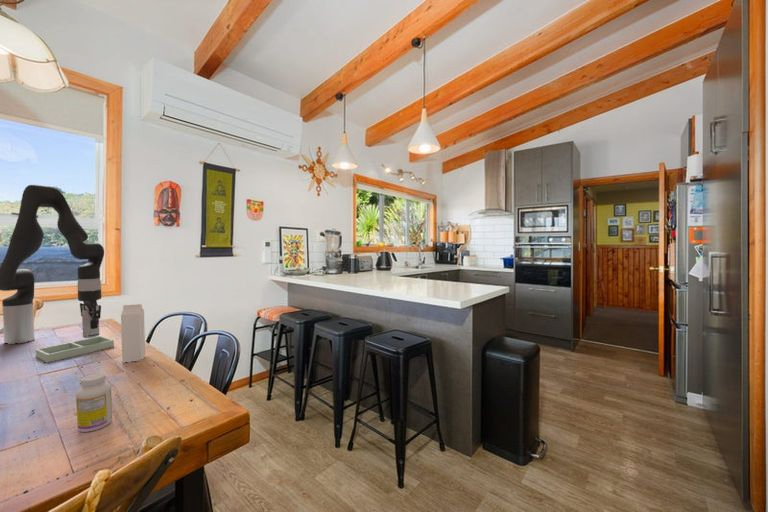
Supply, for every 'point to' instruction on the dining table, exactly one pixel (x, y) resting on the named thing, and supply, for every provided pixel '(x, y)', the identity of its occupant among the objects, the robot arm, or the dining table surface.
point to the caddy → (73, 348)
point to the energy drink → (88, 326)
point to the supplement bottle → (93, 403)
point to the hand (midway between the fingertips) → (91, 327)
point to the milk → (132, 333)
